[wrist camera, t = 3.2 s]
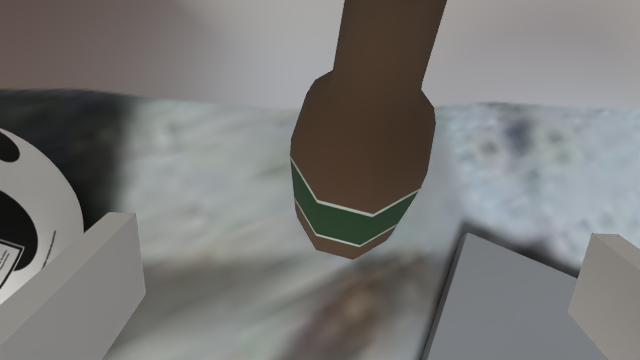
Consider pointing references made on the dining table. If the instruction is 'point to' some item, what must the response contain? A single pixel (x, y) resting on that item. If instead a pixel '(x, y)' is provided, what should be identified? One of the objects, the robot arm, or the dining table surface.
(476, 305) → the slate board
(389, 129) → the beer bottle
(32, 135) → the dining table surface
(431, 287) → the dining table surface
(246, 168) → the dining table surface
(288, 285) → the dining table surface
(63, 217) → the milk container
